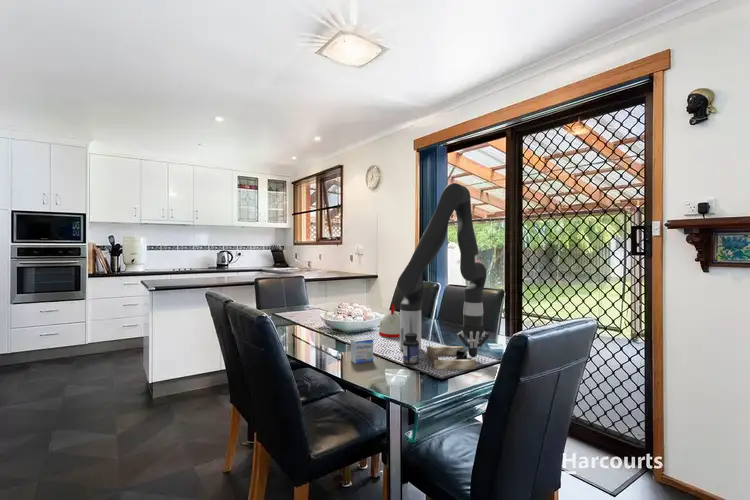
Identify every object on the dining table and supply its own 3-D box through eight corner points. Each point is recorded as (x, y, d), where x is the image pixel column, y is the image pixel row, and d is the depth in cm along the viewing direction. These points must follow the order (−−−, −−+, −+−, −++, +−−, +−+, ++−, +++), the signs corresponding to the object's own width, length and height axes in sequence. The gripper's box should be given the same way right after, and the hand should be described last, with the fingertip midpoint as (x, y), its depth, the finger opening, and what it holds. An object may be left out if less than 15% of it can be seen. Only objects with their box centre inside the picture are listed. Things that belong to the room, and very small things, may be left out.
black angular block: (458, 356, 157) (458, 345, 157) (476, 359, 153) (476, 348, 153) (447, 364, 146) (447, 352, 146) (465, 367, 142) (465, 355, 142)
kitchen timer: (377, 337, 186) (377, 306, 185) (381, 330, 199) (381, 302, 199) (405, 338, 183) (405, 307, 183) (407, 331, 197) (407, 302, 197)
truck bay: (434, 369, 139) (435, 359, 139) (426, 353, 158) (426, 345, 158) (475, 368, 139) (475, 359, 139) (462, 353, 158) (462, 345, 158)
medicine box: (355, 364, 144) (355, 341, 144) (350, 361, 148) (350, 339, 148) (373, 361, 148) (373, 339, 148) (368, 358, 152) (368, 336, 152)
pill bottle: (420, 361, 148) (420, 333, 148) (417, 365, 143) (417, 336, 142) (405, 359, 150) (405, 331, 150) (401, 364, 145) (401, 335, 144)
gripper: (486, 311, 153) (486, 354, 153) (454, 311, 152) (453, 354, 153) (493, 315, 145) (492, 359, 146) (458, 315, 145) (458, 360, 145)
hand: (472, 356), depth 149 cm, fingers closed
